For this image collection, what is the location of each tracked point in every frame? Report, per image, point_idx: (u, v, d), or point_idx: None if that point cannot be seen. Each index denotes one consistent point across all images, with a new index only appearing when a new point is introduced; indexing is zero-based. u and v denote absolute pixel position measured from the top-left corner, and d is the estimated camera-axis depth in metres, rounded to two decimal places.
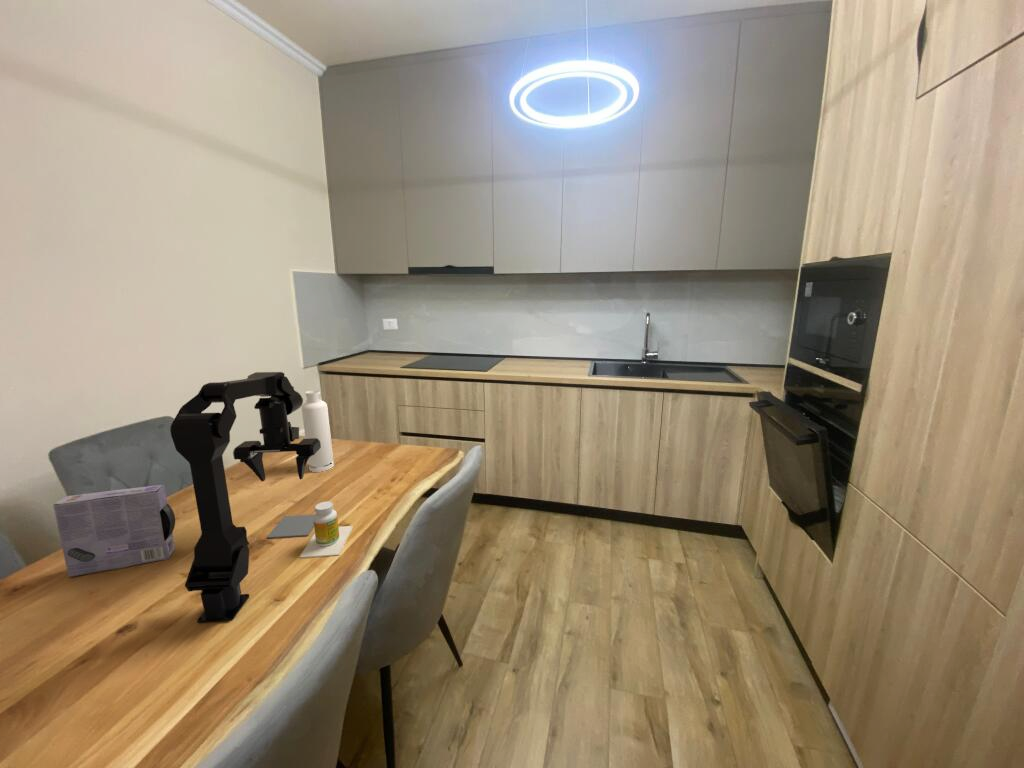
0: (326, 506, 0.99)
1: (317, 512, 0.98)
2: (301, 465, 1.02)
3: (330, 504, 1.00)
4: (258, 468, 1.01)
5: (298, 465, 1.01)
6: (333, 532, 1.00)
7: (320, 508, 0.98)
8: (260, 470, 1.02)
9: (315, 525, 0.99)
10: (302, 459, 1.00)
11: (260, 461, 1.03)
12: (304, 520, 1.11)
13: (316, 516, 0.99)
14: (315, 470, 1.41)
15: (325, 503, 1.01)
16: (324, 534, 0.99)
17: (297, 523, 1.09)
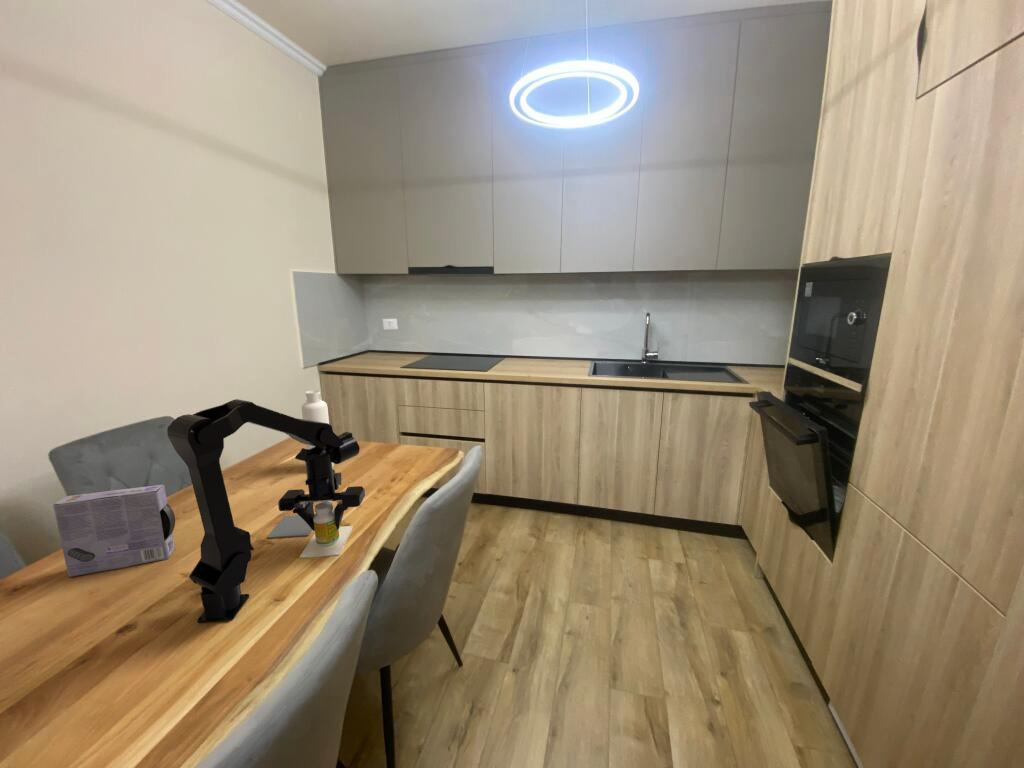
0: (326, 506, 0.99)
1: (317, 512, 0.98)
2: (339, 516, 0.98)
3: (330, 504, 1.00)
4: (310, 518, 0.99)
5: (336, 516, 0.98)
6: (333, 532, 1.00)
7: (320, 508, 0.98)
8: (312, 520, 1.00)
9: (315, 525, 0.99)
10: (340, 510, 0.97)
11: (311, 510, 1.00)
12: None
13: (316, 516, 0.99)
14: None
15: (325, 503, 1.01)
16: (324, 534, 0.99)
17: (297, 523, 1.09)
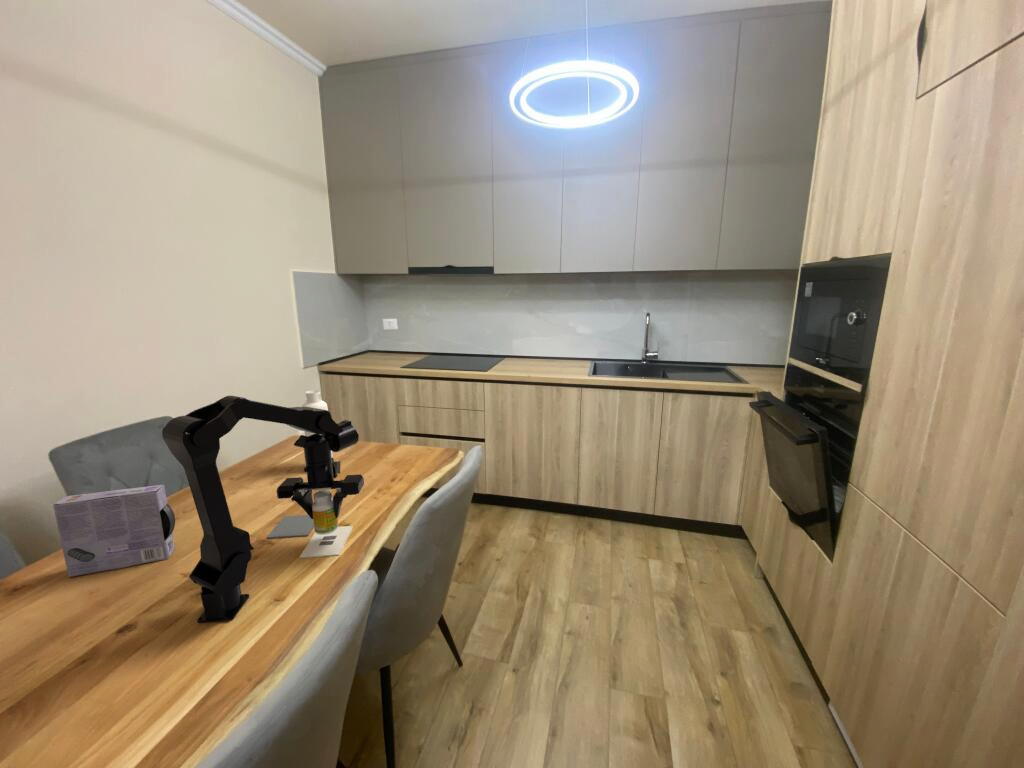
0: (325, 494, 0.99)
1: (316, 500, 0.98)
2: (338, 504, 0.98)
3: (329, 492, 1.00)
4: (309, 506, 0.98)
5: (335, 504, 0.98)
6: (332, 520, 0.99)
7: (319, 496, 0.98)
8: (310, 508, 0.99)
9: (314, 514, 0.98)
10: (339, 498, 0.97)
11: (310, 498, 0.99)
12: (304, 520, 1.11)
13: (315, 504, 0.98)
14: None
15: (324, 491, 1.00)
16: (323, 522, 0.98)
17: (297, 523, 1.09)
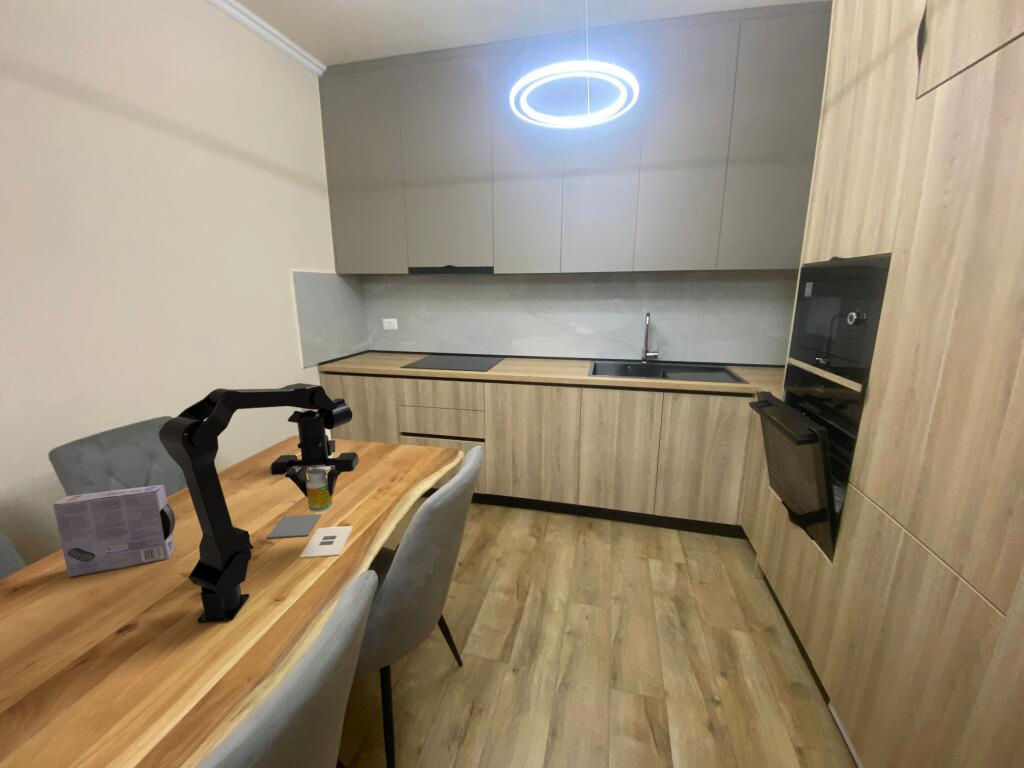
0: (319, 471, 0.98)
1: (310, 477, 0.97)
2: (332, 481, 0.97)
3: (323, 470, 0.99)
4: (303, 483, 0.97)
5: (329, 481, 0.97)
6: (326, 498, 0.98)
7: (313, 473, 0.97)
8: (304, 485, 0.98)
9: (308, 491, 0.97)
10: (333, 475, 0.96)
11: (304, 476, 0.99)
12: (304, 520, 1.11)
13: (309, 481, 0.97)
14: None
15: (318, 469, 0.99)
16: (317, 500, 0.97)
17: (297, 523, 1.09)
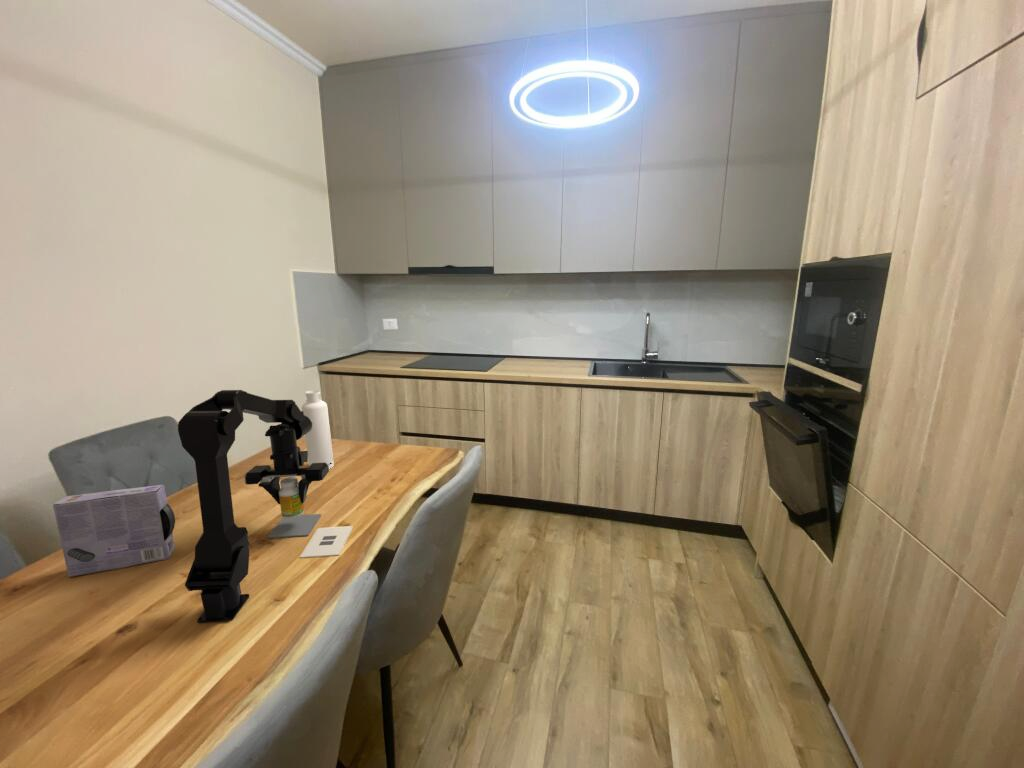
0: (291, 481, 1.05)
1: (282, 486, 1.04)
2: (303, 490, 1.04)
3: (295, 479, 1.06)
4: (275, 492, 1.05)
5: (300, 490, 1.04)
6: (298, 505, 1.06)
7: (285, 482, 1.04)
8: (277, 494, 1.05)
9: (280, 499, 1.04)
10: (304, 484, 1.03)
11: (277, 485, 1.06)
12: (304, 520, 1.11)
13: (281, 490, 1.05)
14: None
15: (290, 478, 1.06)
16: (289, 507, 1.04)
17: (297, 523, 1.09)
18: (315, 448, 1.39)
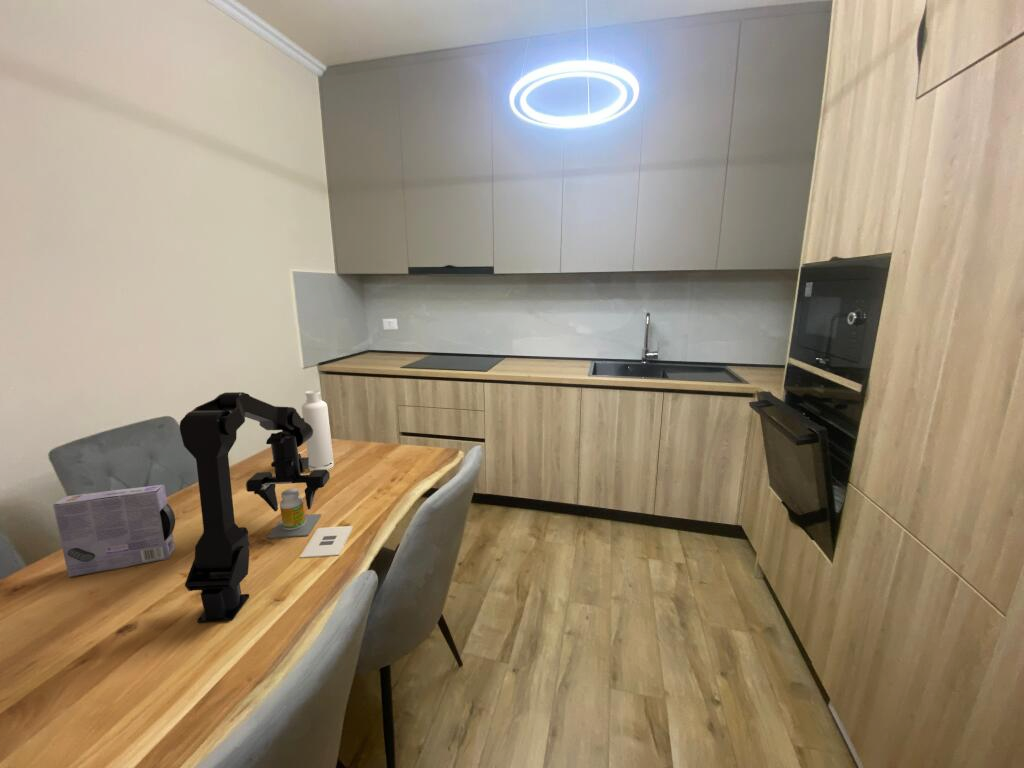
0: (292, 492, 1.06)
1: (283, 498, 1.05)
2: (309, 496, 1.05)
3: (296, 491, 1.07)
4: (271, 499, 1.05)
5: (307, 496, 1.05)
6: (299, 517, 1.06)
7: (286, 494, 1.05)
8: (273, 501, 1.06)
9: (281, 511, 1.05)
10: (310, 491, 1.04)
11: (273, 492, 1.06)
12: None
13: (282, 502, 1.05)
14: None
15: (291, 490, 1.07)
16: (290, 519, 1.05)
17: None
18: (315, 448, 1.39)
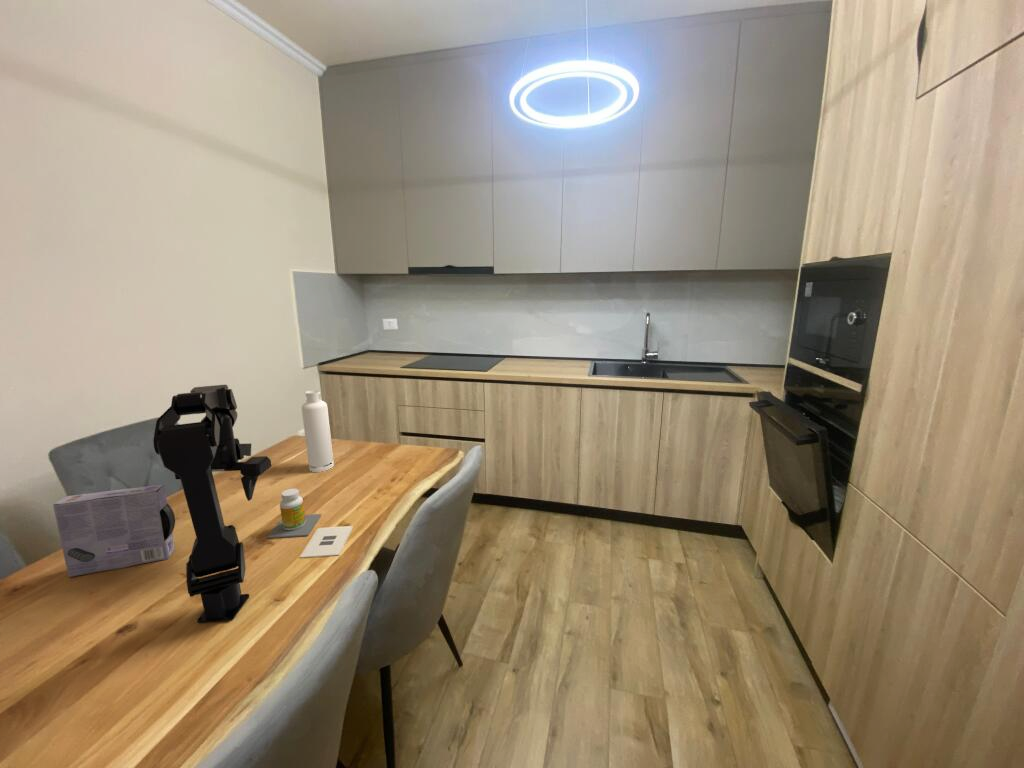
0: (292, 492, 1.06)
1: (283, 498, 1.05)
2: (247, 486, 0.94)
3: (296, 491, 1.07)
4: None
5: (244, 486, 0.94)
6: (299, 517, 1.06)
7: (286, 494, 1.05)
8: None
9: (281, 511, 1.05)
10: (248, 479, 0.93)
11: None
12: None
13: (282, 502, 1.05)
14: (315, 470, 1.41)
15: (291, 490, 1.07)
16: (290, 519, 1.05)
17: None
18: (315, 448, 1.39)
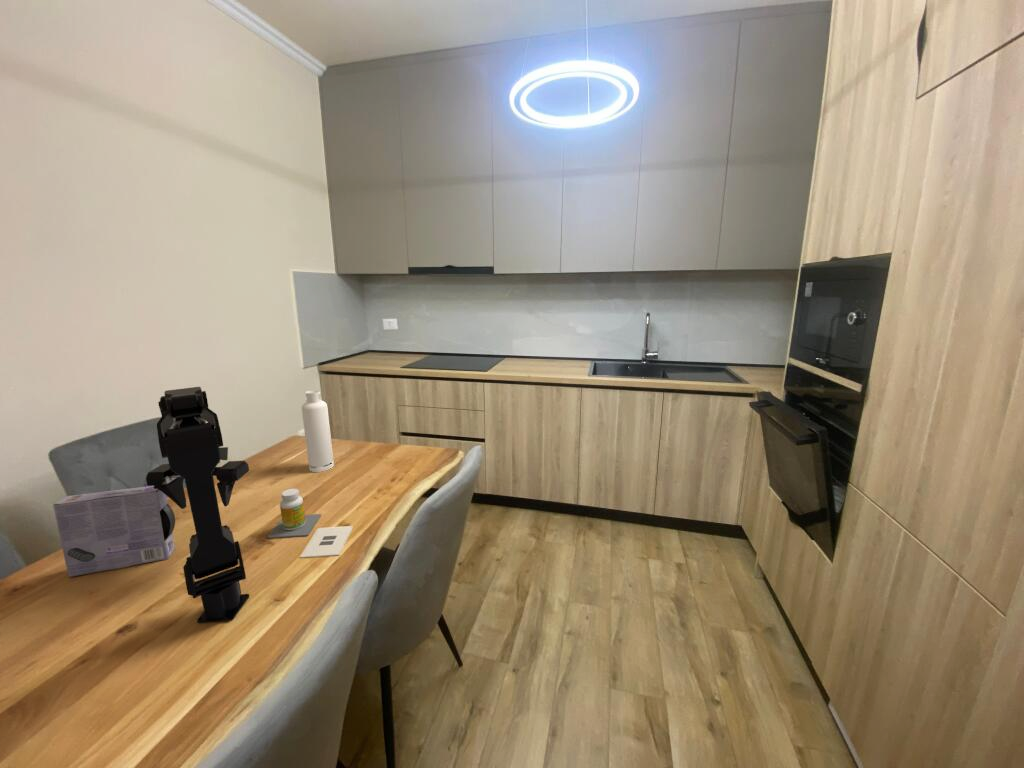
0: (292, 492, 1.06)
1: (283, 498, 1.05)
2: (224, 491, 0.91)
3: (296, 491, 1.07)
4: (176, 495, 0.91)
5: (220, 491, 0.91)
6: (299, 517, 1.06)
7: (286, 494, 1.05)
8: (179, 496, 0.92)
9: (281, 511, 1.05)
10: (224, 485, 0.90)
11: (179, 486, 0.92)
12: None
13: (282, 502, 1.05)
14: (315, 470, 1.41)
15: (291, 490, 1.07)
16: (290, 519, 1.05)
17: None
18: (315, 448, 1.39)
